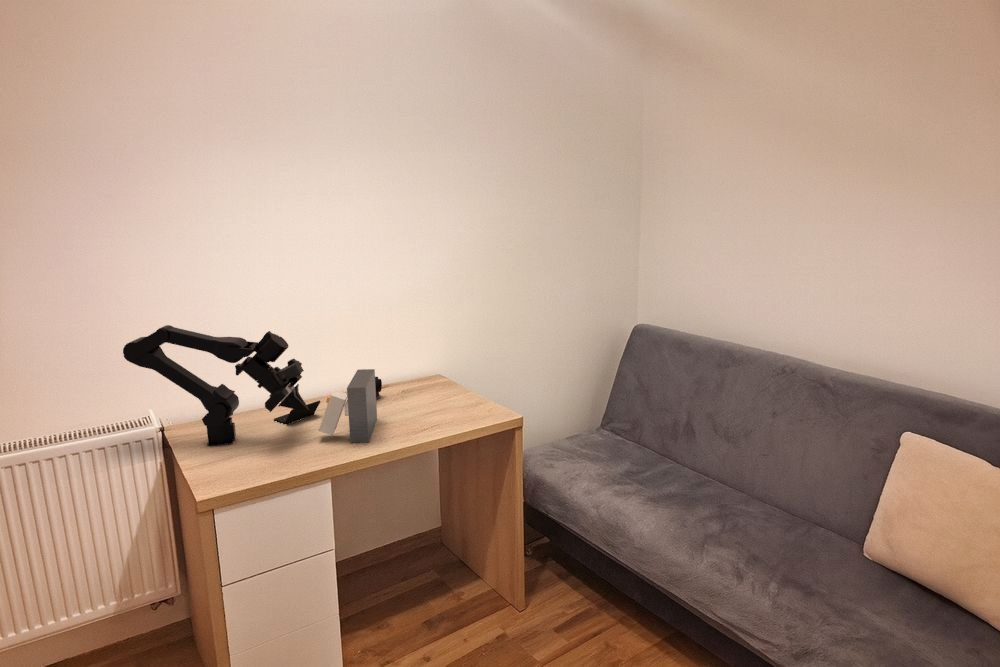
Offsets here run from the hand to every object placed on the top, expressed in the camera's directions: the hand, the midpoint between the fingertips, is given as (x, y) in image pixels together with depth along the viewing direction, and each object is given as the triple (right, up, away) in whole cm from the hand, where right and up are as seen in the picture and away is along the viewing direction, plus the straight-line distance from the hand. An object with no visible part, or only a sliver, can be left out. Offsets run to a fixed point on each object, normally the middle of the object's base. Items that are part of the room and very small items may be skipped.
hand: (307, 410), depth 180 cm
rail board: (+14, -7, +7) cm, 17 cm away
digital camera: (+11, -1, +34) cm, 36 cm away
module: (+5, -5, +2) cm, 7 cm away
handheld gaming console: (-8, -5, +18) cm, 20 cm away
